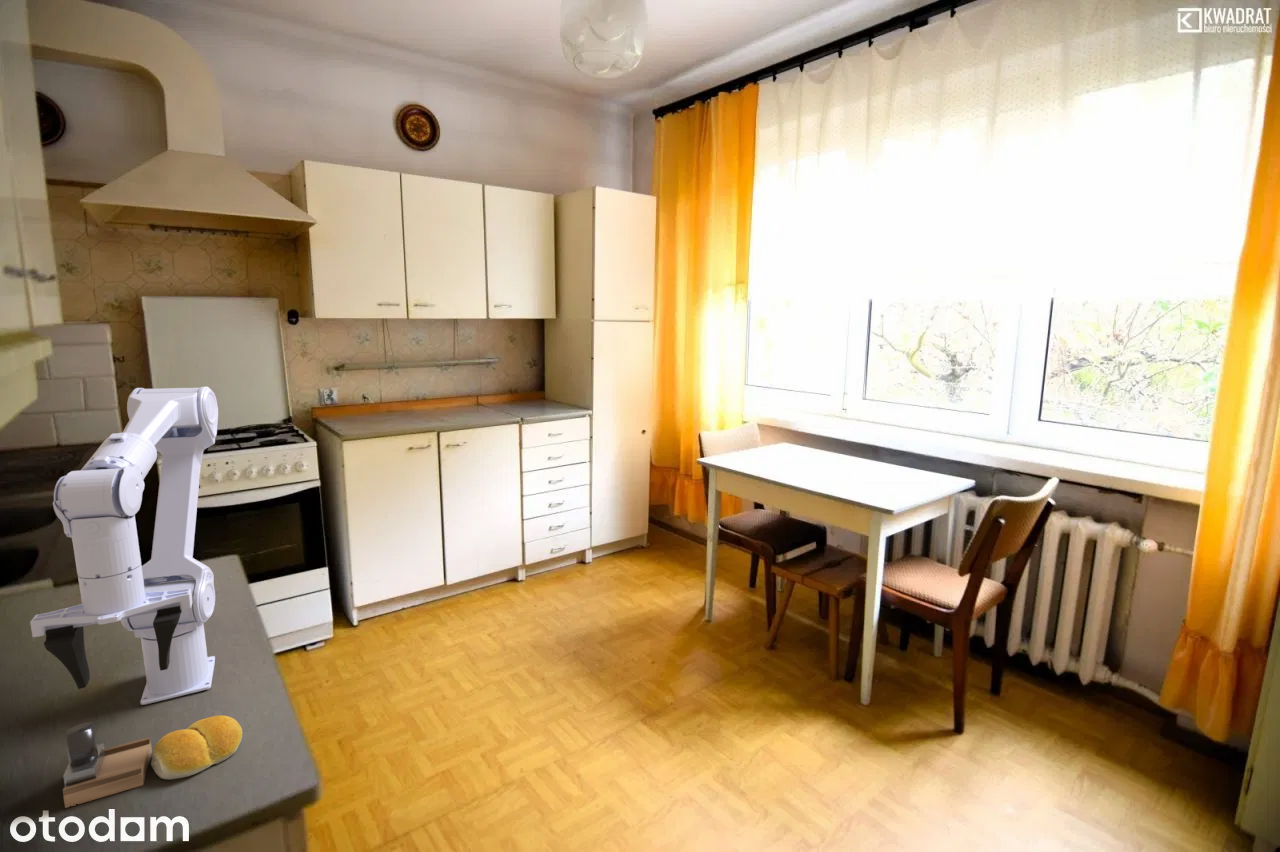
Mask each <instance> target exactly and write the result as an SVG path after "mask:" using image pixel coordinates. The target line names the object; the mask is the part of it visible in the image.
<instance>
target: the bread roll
mask: <svg viewBox="0 0 1280 852" xmlns="http://www.w3.org/2000/svg"><path fill="white" fill-rule="evenodd" d="M242 739H243V729H242V726H241V725H240V724H239V722H238V721H237V720H236V719H235V718H233V717H231V716H228V715H214V716H213V715H212V716H210V717H206V718H202V719H199V720H197V721H195V722H193V723H192V724H190V725H189V726H188V727H187V728H186V729H185V728H184V729H178V730H174V731H171V732H168V733H166V734H165V735H163V736H162V737H161V738H160V739H159V741H158V742H156V743H155V745H154V748H153V751H152V759H151V762H150V765H151V767H152V769H153V771H154V773H155V775H156V776H158V777H159V778H160V779H163V780H176V779H182V778H187V777H190V776H193V775H196V774H198V773H201V772H202V771H205V770H207V769H208V768H210V767H211V766H213V765H218V764H220V763H221V762H224V761H225V760H227V759H229V758H231V756H233V755H234V754H235V752H236V751H237V750H238V748H239V746H240V744H241V742H242Z"/></svg>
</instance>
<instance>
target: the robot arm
mask: <svg viewBox="0 0 1280 852" xmlns="http://www.w3.org/2000/svg"><path fill="white" fill-rule="evenodd" d="M126 405H127V406H126V412H127V416H128V419H129V421H128V422H127V423H126V425H125V427H124V429H123V431H122V432H117V433H115V432H114V433H111V434H110V435H109V436H108V437H107V438H105V439H104V441H102V443H101V444H100V446H99V447H98V448H97V450H96V451H95V452H93V454H92V456H91V457H90V458H89V459H88V460H87V462H86V463H85V464H84V465H83V467H82V468H81V469H80V470H71V471H70V472H68V473H66V475H64V476H61V477H59V479H58V480H57V481H56V484H55V486H54V489H53V502H52V506H53V511H54V513H55V516H56V517H57V518H58V519H59V520H60V521H61V523H62V527H63V532H64V534H65V536H66V537H67V538H71V541H72V546H73V554H74V560H75V566H76V574H77V579H78V584H79V591H80V592H79V593H80V599H81V604H80V603H79V604H77V605H73V606H70V607H66V608H60V609H58V610H57V609H56V610H53V611H49V612H45V613H44V612H43V613H40V614H39V613H38V614H35V615H34V617H32V619H31V620H30V622H29V623H30V628H31V629H30V630H31V636H32V638H37V637H43V636H45V635H46V636H45V641H44V642H43V645H44V648H45V649H46V651H48V652H49V653H50V654H52V655H53V656H54V657H55V658H56V659H58V660H59V662H61V663H62V665H63V666H64V667H65V668H66V669H67V671H68V673H69V674H70V676H71V677H72V679H73V680H74V683H75V685H76V688H77V689H78V690H80V689H85V688H86V687H87V686H88V683H89V681H90V679H91V677H90V667H89V664H88V660H87V654H86V648H85V635H84V633H85V632H84V631H85V629H84V626H85V627H86V626H91V625H95V624H97V625H100V626H101V625H106V624H111V623H117V622H119V621H120V623H121V624H122V627H124V628H125V629H126V630H127V631H128V632H133V634H134V638H135V639H136V638H140V641H141V643H140V644H141V649H142V657H143V665H144V670H145V678H146V683H145V686H144V689H143V692H142V696H141V699H140V705H149V704H152V703H158V702H161V701H165V700H170V699H174V698H178V697H181V696H185V695H190V694H194V693H199V692H202V691H206V690H209V689H211V688H212V684H213V683H212V682H213V677H214V676H213V675H214V671H215V663H216V656H215V655H212V656H208V651H207V650H208V649H207V643H206V634H205V626H204V623H206V622H207V621H208V620H209V619H210V617H211V616H212V615H213V613H214V610H215V607H216V606H215V604H216V590H215V583H214V582H215V581H214V580H215V578H214V577H215V576H214V573H213V571H212V569H211V568H210V567H209V566H208V565H206V564H204V563H202V562H200V561H199V560H198V559H195V558H194V557H193V556H194V547H195V534H196V525H197V524H196V523H197V512H198V510H197V509H198V502H199V492H200V491H199V490H200V489H199V487H200V480H201V479H200V477H201V469H202V467H201V466H202V462H203V456H204V451H205V450H206V449H207V448H208V449H209V448H210V447H211V446H214V445H215V443H216V437H217V433H218V423H219V421H218V420H219V407H218V401H217V397H216V393H214V391H213V390H212V389H211V388H210V387H209V386H207V385H206V386H201V387H175V388H174V387H172V388H171V387H168V388H167V387H166V388H165V387H164V388H163V387H162V388H144V387H136V388H134V389H133V390H132V392H130V394H129V396H128V398H127V403H126ZM158 452H159V453H160V455H161V467H160V476H159V485H158V493H157V495H158V496H157V503H156V511H155V521H154V529H153V539H152V549H151V557H150V559H149V560H148V561H147V562H145V563H144V564H143V565H142V558H141V552H140V551H141V550H140V545H139V544H140V543H139V536H138V529H137V522H136V514H137V513H138V512H139V511H140V509H141V505H142V501H143V492H144V490H145V486H146V485H145V481H144V480H145V478H146V476H147V475H148V474H149V471H150V470H151V469H152V467H153V465H154V464H155V462H156V461H157V458H158Z"/></svg>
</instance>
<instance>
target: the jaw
mask: <svg viewBox="0 0 1280 852" xmlns="http://www.w3.org/2000/svg"><path fill="white" fill-rule="evenodd" d="M64 737H65V742H66V749H67V755H68V761H69V763H68V764H67V767H66V769H65V770H64V773H63V783H64V787H67V786H71V785H75V784H78V783H82V782H85V781H89V780H92V779H96V778H97V776H98V773H99V771H100V768H101V765H102V763H103V760H104V757H105V749H106V747H105V743H104V742H102V743H100V744H98V743H97V737H96V730H95V725H94V723H93V722H84V723H83V722H82V723H80V724H77V725H73V726H72V727H70V728H69V729H67V730H66V732H65V733H64Z"/></svg>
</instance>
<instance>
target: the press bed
mask: <svg viewBox="0 0 1280 852" xmlns="http://www.w3.org/2000/svg"><path fill="white" fill-rule="evenodd" d="M152 755H153V749H152V742H151V737H150V736H148V737H145V738H140V739H136V740H133V741H129V742H124V743H121V744H118V745H115V746H110V747H105V757H104V760H103V763H102V765H101V768H100V771H99V773H98V776H97V778H96V779H92V780H89V781H85V782H82V783H78V784H75V785H71V786H67V787H65V786H63V789H62V793H63V802H64V808H65V809H67V808H70V806H71V807H73V806H77V805H76V804H78V805H81V804H83V803H88V802H91V801H93V800H97V799H101V798H104V797H108V796H112V795H114V794H118V793H122V792H124V791H127V790H132V789H134V788H139V787H141V786H144V784H145V779H146V775H147V772H148V768H149V765H150V760H151V757H152Z"/></svg>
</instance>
